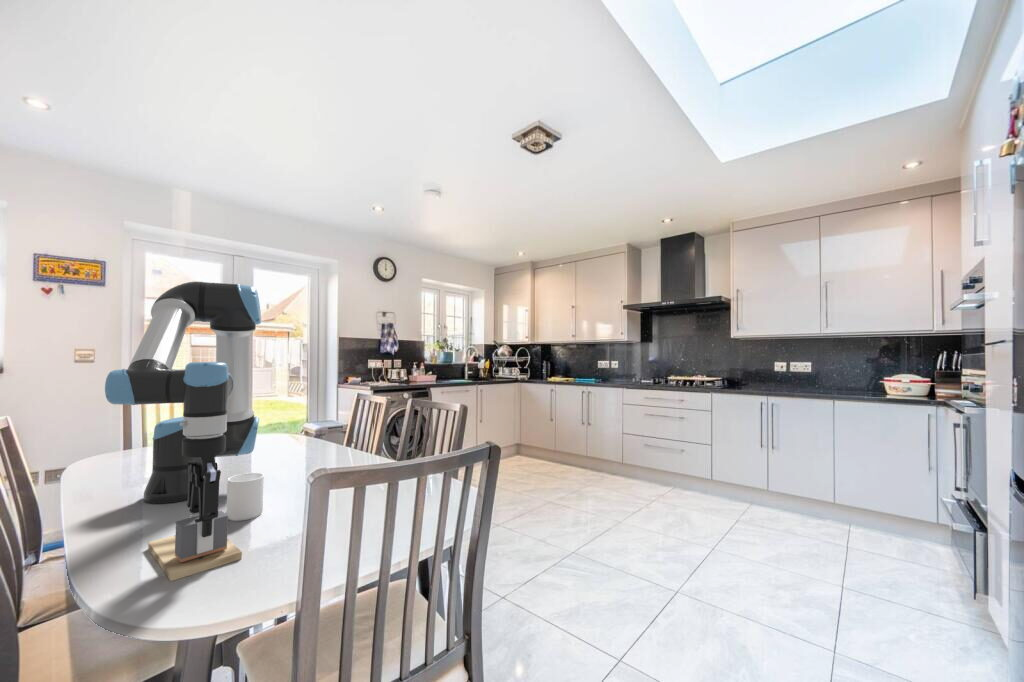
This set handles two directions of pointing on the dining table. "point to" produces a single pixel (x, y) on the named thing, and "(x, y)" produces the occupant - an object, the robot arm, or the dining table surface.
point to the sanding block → (188, 537)
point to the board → (175, 569)
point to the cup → (245, 496)
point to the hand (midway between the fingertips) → (201, 547)
